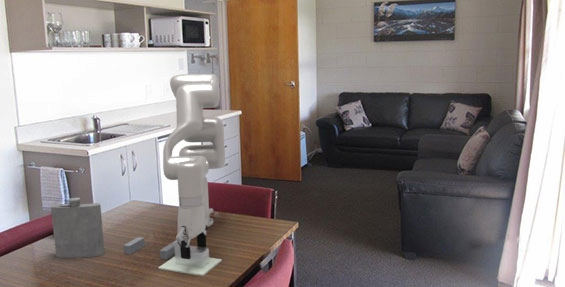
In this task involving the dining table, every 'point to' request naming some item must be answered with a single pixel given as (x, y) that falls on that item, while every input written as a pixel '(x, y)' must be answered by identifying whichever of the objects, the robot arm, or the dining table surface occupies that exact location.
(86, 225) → the hip flask
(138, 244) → the vise jaws
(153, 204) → the dining table surface
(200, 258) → the white pedestal stand
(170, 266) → the mat
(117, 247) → the dining table surface
